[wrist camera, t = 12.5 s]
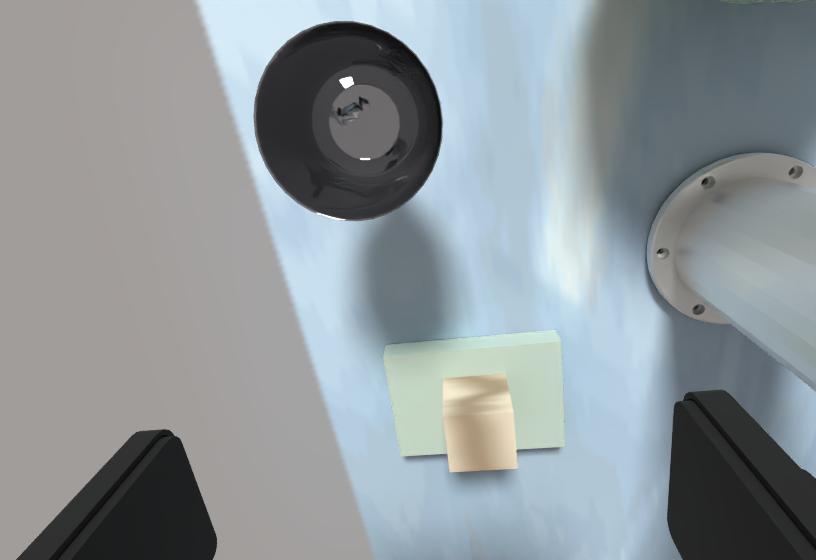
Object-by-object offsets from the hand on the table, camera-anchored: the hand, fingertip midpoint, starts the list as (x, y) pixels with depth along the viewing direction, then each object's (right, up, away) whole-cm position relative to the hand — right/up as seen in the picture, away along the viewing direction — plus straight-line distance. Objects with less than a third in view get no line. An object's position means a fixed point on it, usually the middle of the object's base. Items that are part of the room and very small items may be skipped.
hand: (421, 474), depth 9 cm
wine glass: (-2, +15, +25) cm, 29 cm away
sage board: (+5, -6, +32) cm, 33 cm away
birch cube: (+5, -6, +30) cm, 31 cm away
